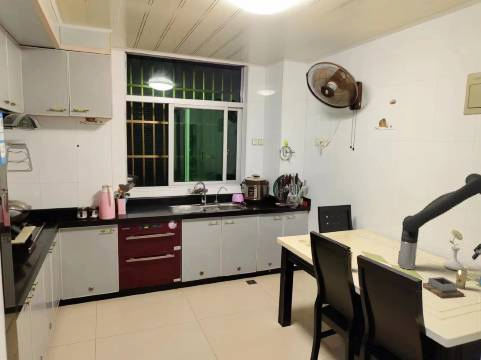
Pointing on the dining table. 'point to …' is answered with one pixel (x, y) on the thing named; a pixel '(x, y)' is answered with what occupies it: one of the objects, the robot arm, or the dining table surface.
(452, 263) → the flower in vase
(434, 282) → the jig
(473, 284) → the dining table surface
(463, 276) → the gold dome cylinder
